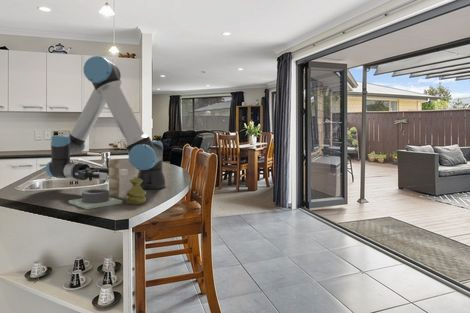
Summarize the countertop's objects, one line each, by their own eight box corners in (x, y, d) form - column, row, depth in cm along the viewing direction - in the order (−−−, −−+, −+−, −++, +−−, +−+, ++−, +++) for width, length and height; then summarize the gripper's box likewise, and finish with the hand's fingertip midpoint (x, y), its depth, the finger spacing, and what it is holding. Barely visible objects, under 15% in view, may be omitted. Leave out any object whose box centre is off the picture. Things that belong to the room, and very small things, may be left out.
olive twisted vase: (140, 199, 131) (140, 175, 131) (149, 202, 126) (149, 177, 125) (123, 202, 126) (123, 177, 125) (131, 205, 121) (131, 179, 120)
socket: (103, 197, 133) (103, 187, 132) (122, 203, 124) (122, 191, 124) (68, 203, 122) (68, 191, 121) (86, 209, 113) (86, 196, 113)
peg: (115, 194, 140) (115, 158, 138) (121, 196, 137) (121, 159, 136) (106, 196, 136) (106, 158, 135) (112, 197, 134) (112, 159, 132)
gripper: (98, 176, 154) (135, 179, 147) (54, 183, 130) (96, 188, 124) (98, 160, 153) (135, 163, 147) (54, 165, 130) (96, 168, 123)
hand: (117, 174), depth 135 cm, fingers open, 13 cm apart
